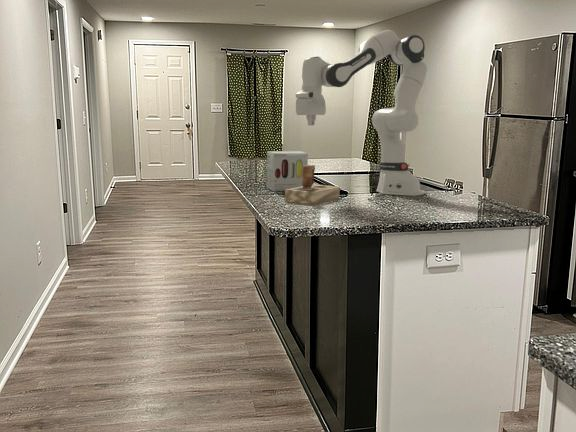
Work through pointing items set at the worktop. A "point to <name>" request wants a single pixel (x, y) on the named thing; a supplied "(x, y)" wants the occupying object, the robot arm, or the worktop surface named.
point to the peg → (307, 177)
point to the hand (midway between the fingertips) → (311, 125)
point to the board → (312, 194)
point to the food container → (313, 173)
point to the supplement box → (285, 169)
